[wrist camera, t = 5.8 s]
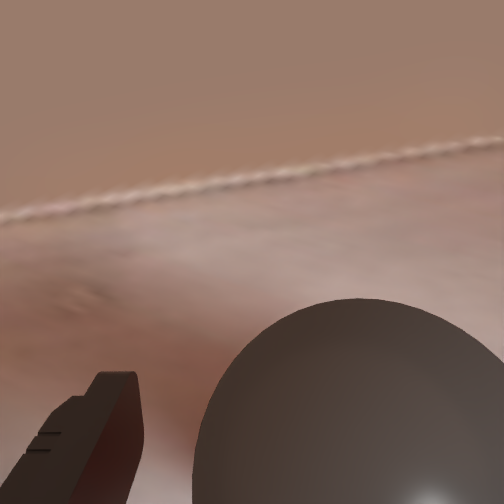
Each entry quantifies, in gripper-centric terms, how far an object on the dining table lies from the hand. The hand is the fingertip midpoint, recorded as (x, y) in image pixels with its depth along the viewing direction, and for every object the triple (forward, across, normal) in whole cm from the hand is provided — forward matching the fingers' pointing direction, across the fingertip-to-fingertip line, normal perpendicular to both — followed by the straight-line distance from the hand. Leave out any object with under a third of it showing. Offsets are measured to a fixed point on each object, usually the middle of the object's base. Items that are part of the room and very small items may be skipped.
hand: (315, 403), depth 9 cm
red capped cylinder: (+3, 0, +4) cm, 5 cm away
